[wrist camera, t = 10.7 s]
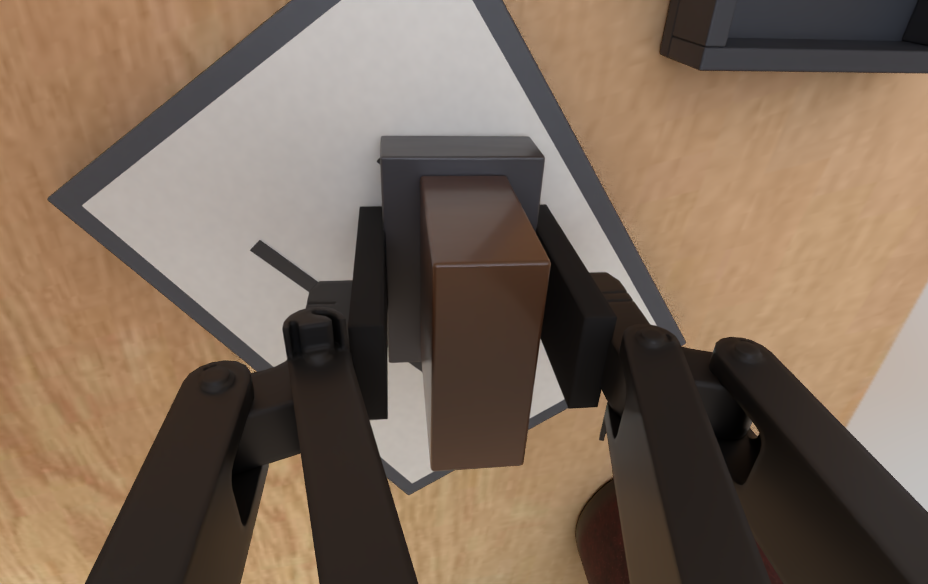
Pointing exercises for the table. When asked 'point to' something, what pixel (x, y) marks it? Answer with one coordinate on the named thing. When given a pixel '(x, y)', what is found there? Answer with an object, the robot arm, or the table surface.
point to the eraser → (466, 287)
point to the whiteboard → (333, 176)
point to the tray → (799, 35)
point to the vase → (614, 541)
